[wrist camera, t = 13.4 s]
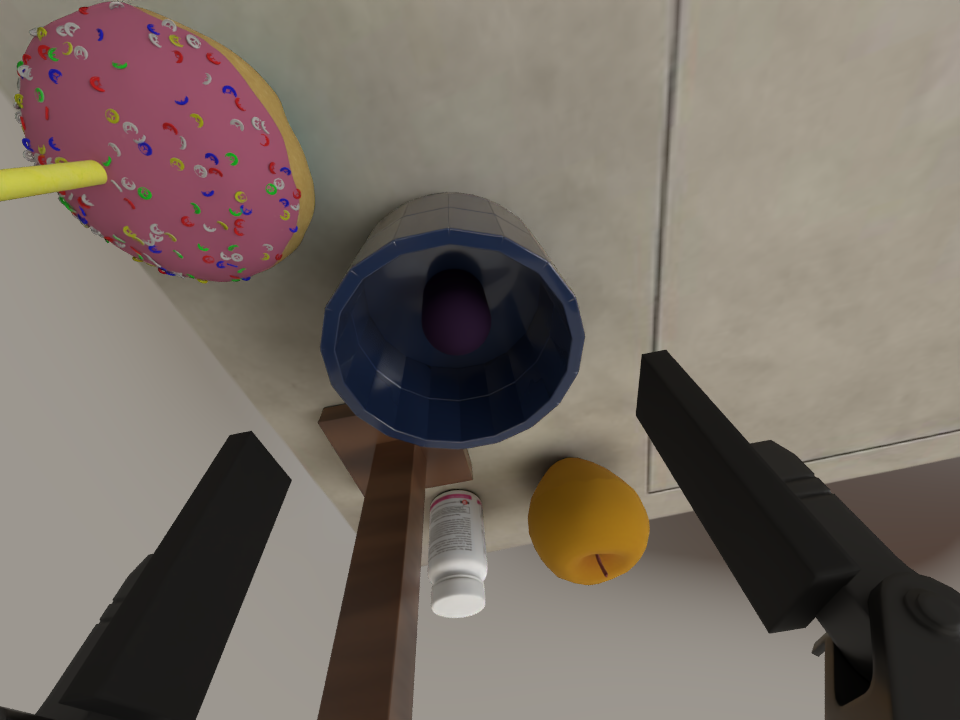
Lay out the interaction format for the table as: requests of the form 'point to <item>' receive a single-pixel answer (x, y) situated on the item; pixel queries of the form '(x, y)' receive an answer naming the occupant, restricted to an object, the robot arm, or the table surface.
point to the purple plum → (455, 312)
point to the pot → (425, 370)
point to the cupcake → (160, 144)
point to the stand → (382, 568)
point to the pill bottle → (457, 554)
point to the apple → (587, 522)
